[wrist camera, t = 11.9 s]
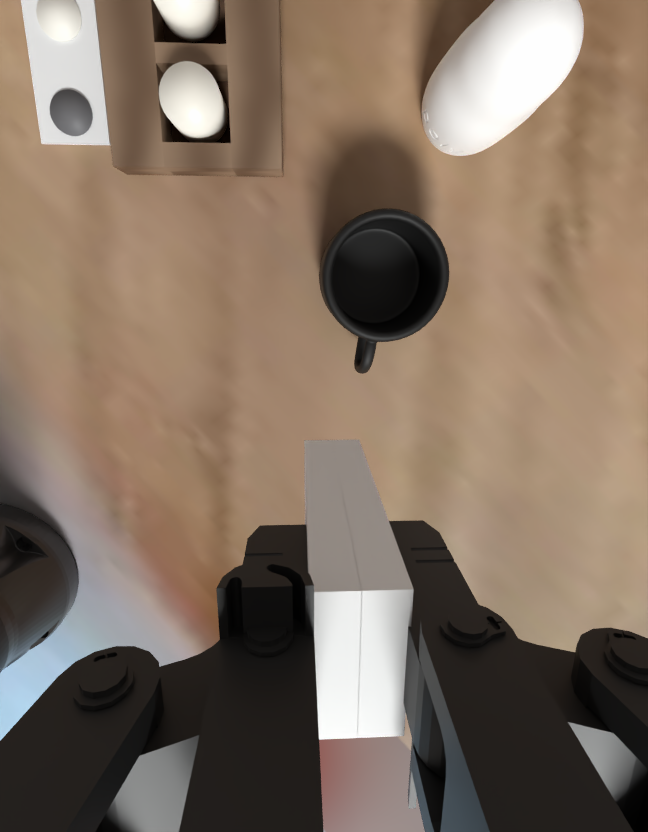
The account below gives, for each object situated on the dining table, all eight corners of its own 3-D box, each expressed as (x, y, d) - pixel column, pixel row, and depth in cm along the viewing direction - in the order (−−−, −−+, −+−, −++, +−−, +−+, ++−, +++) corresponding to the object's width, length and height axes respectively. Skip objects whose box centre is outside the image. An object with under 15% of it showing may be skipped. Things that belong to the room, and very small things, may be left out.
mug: (328, 209, 39) (334, 195, 32) (436, 230, 40) (465, 221, 33) (303, 355, 42) (305, 371, 35) (404, 372, 43) (424, 391, 36)
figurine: (530, 109, 37) (632, 35, 26) (454, 182, 39) (521, 142, 27) (474, 28, 36) (557, -89, 24) (397, 107, 37) (441, 31, 25)
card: (43, 144, 36) (40, 142, 36) (4, -127, 32) (0, -133, 31) (111, 145, 37) (108, 143, 36) (82, -123, 32) (79, -129, 32)
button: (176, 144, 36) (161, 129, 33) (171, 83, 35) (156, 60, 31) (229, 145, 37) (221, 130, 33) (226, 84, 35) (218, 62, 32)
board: (127, 174, 37) (113, 166, 34) (93, -161, 32) (73, -205, 29) (283, 176, 38) (281, 168, 35) (277, -153, 32) (275, -195, 29)
